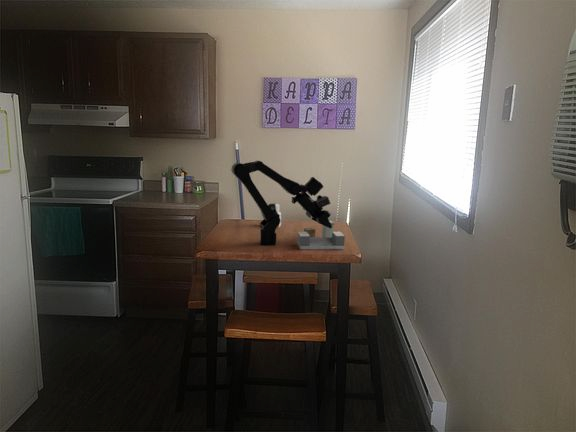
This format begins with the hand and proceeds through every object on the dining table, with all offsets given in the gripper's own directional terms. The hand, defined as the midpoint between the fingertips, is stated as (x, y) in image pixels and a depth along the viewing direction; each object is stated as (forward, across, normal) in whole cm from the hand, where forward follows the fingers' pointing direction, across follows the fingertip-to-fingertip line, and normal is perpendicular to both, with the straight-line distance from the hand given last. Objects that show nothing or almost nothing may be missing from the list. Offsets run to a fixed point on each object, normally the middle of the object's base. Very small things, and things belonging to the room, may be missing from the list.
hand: (329, 226), depth 202 cm
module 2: (+3, -11, +4) cm, 12 cm away
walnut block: (0, +10, +9) cm, 13 cm away
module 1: (-7, -9, +14) cm, 18 cm away
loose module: (+4, 0, +5) cm, 7 cm away
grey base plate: (-1, -10, +10) cm, 14 cm away
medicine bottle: (-7, +36, +17) cm, 41 cm away
